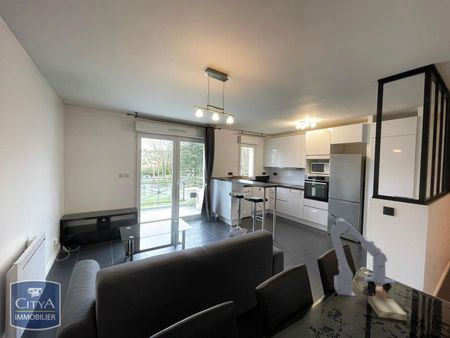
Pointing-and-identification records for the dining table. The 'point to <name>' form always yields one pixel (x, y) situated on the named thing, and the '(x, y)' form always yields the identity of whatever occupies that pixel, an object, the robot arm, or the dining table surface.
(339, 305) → the dining table surface
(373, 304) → the birch base
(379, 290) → the terracotta cube
